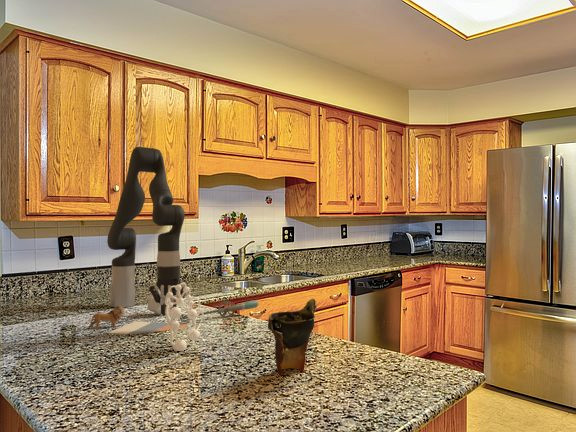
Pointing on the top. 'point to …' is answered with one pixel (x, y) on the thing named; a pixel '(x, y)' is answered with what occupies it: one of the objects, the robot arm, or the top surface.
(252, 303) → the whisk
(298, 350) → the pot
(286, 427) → the top surface
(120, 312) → the lion figurine
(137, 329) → the track board
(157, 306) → the die
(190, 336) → the molecule model
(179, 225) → the robot arm
